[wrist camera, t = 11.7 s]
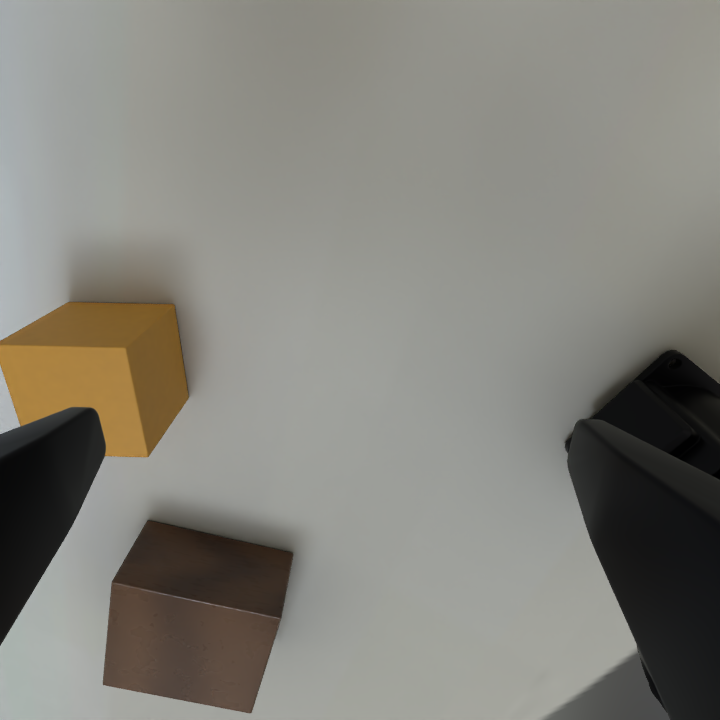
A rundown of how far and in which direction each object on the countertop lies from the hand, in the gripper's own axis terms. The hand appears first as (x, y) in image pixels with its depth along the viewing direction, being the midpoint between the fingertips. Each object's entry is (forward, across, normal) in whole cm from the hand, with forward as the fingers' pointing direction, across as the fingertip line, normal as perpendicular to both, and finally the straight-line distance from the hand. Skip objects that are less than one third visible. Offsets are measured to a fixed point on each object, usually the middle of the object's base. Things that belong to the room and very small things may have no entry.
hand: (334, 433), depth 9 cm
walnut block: (+12, +8, +19) cm, 24 cm away
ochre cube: (+12, +10, +4) cm, 16 cm away
